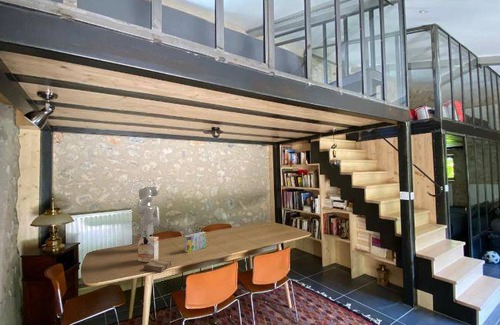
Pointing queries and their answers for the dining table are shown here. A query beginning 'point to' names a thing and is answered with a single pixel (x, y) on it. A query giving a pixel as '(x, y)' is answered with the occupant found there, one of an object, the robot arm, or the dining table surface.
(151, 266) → the block
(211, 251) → the dining table surface
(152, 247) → the coffeecake box
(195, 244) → the snack box
